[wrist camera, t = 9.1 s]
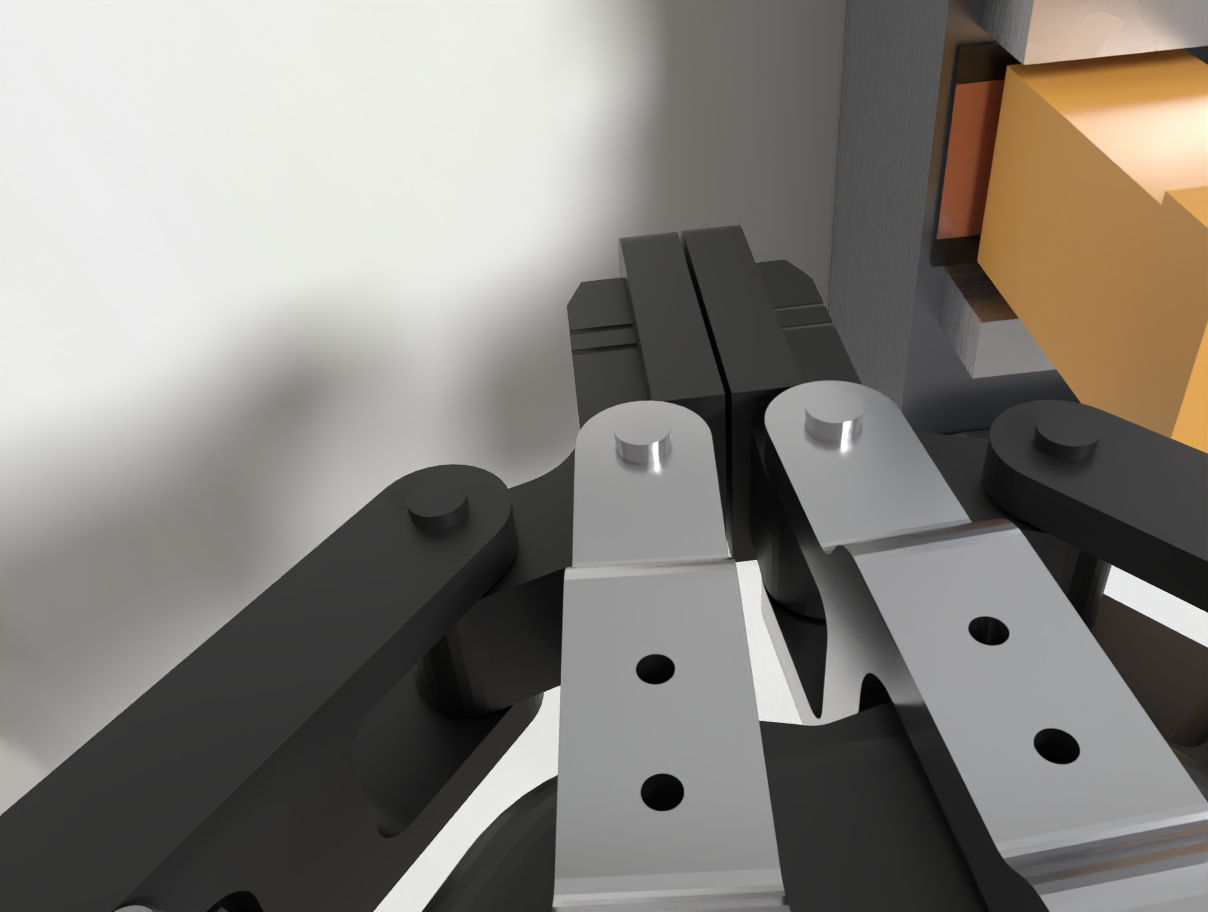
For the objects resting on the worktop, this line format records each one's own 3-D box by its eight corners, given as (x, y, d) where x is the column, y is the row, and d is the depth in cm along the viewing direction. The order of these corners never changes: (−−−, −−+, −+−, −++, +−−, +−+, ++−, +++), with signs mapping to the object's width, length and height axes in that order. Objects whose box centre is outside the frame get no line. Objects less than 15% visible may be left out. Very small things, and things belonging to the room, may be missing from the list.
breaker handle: (1219, 6, 15) (1581, 210, 10) (1149, 270, 17) (1410, 537, 12) (983, 31, 15) (1230, 248, 10) (946, 292, 17) (1130, 569, 12)
